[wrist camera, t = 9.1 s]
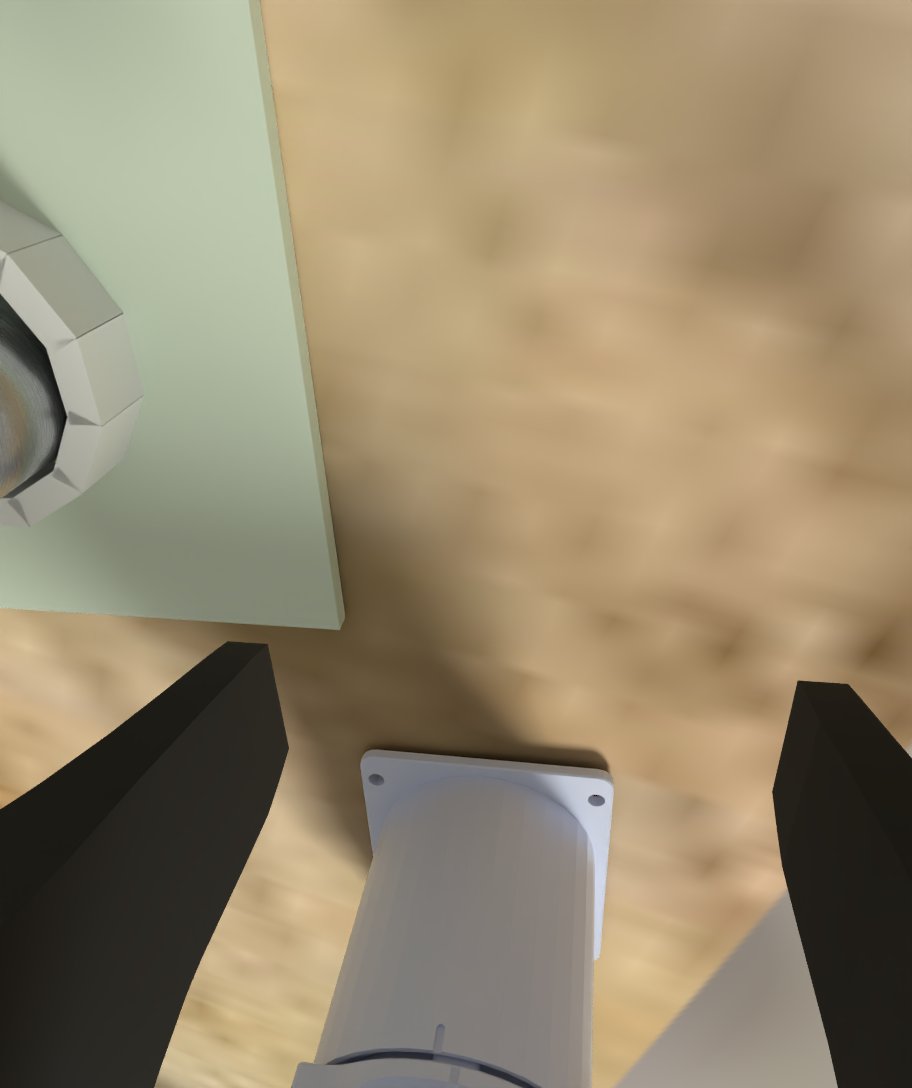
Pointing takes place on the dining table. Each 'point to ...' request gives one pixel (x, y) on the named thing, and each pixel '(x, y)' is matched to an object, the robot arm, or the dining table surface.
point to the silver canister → (26, 403)
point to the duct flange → (159, 320)
